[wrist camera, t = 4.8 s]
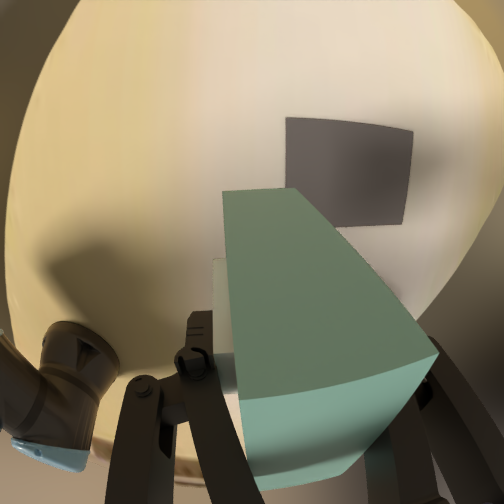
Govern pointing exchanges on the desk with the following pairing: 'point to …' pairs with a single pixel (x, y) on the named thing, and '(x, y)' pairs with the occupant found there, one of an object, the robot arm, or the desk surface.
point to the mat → (349, 169)
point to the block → (311, 340)
